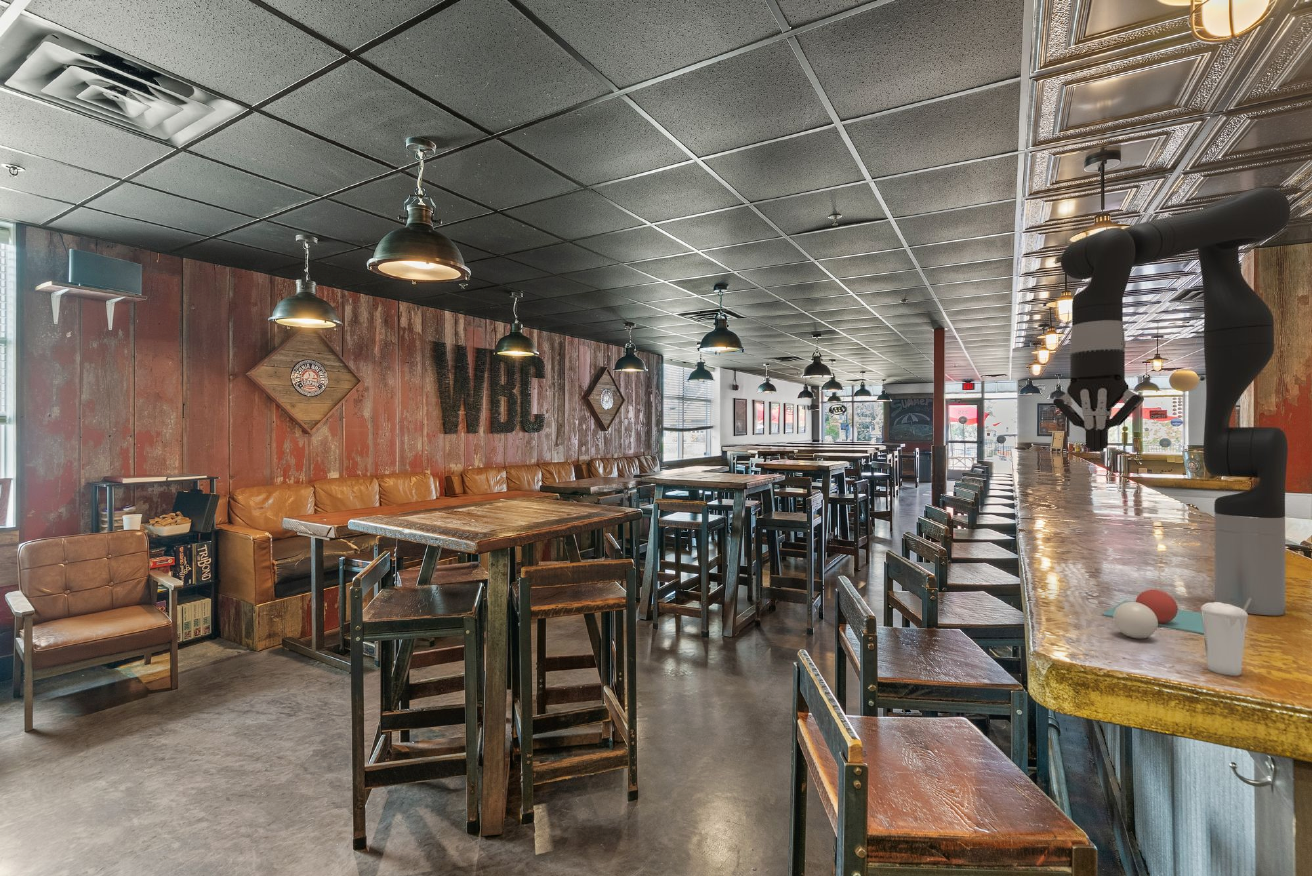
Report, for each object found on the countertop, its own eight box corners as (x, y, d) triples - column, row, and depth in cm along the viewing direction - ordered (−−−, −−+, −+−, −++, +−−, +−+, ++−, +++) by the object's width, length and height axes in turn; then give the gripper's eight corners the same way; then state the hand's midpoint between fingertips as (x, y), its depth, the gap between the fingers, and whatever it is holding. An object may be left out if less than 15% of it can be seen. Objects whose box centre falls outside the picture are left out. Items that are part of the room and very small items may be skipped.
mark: (1124, 601, 115) (1124, 600, 115) (1224, 618, 104) (1224, 617, 104) (1102, 615, 106) (1102, 613, 106) (1209, 635, 95) (1209, 633, 95)
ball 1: (1110, 612, 93) (1114, 642, 94) (1156, 616, 90) (1159, 648, 91) (1111, 593, 97) (1115, 622, 98) (1155, 596, 94) (1158, 627, 95)
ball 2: (1132, 607, 101) (1138, 628, 103) (1175, 610, 97) (1180, 631, 99) (1132, 581, 104) (1138, 602, 106) (1174, 583, 100) (1179, 605, 102)
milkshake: (1264, 679, 78) (1264, 602, 78) (1216, 676, 79) (1216, 600, 79) (1238, 666, 82) (1238, 593, 82) (1192, 663, 83) (1192, 591, 83)
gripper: (1045, 352, 105) (1045, 451, 105) (1139, 343, 95) (1139, 452, 95) (1059, 356, 110) (1060, 450, 110) (1151, 348, 100) (1151, 452, 100)
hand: (1096, 451), depth 103 cm, fingers closed
